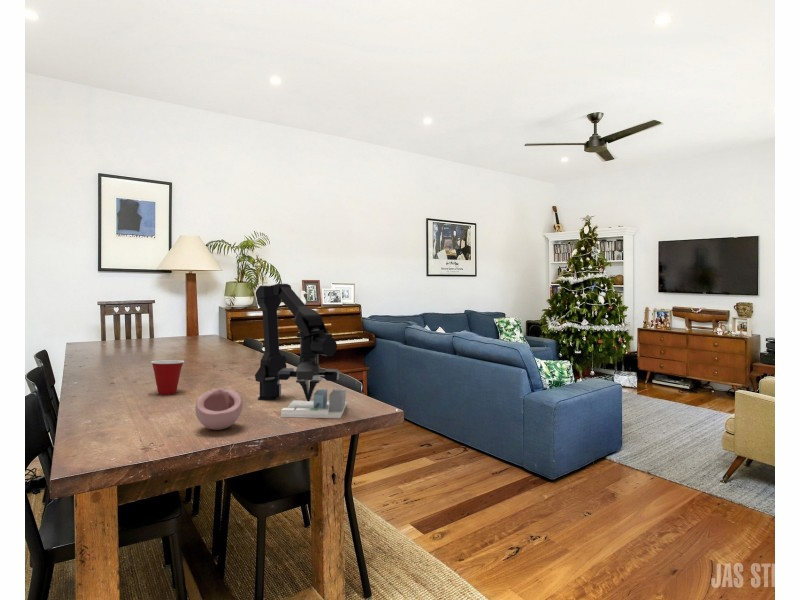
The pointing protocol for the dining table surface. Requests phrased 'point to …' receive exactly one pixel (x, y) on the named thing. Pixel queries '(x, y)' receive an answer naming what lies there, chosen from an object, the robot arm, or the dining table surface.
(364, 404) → the dining table surface
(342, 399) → the frame
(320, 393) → the plunger
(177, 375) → the plastic cup
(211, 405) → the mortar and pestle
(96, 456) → the dining table surface
